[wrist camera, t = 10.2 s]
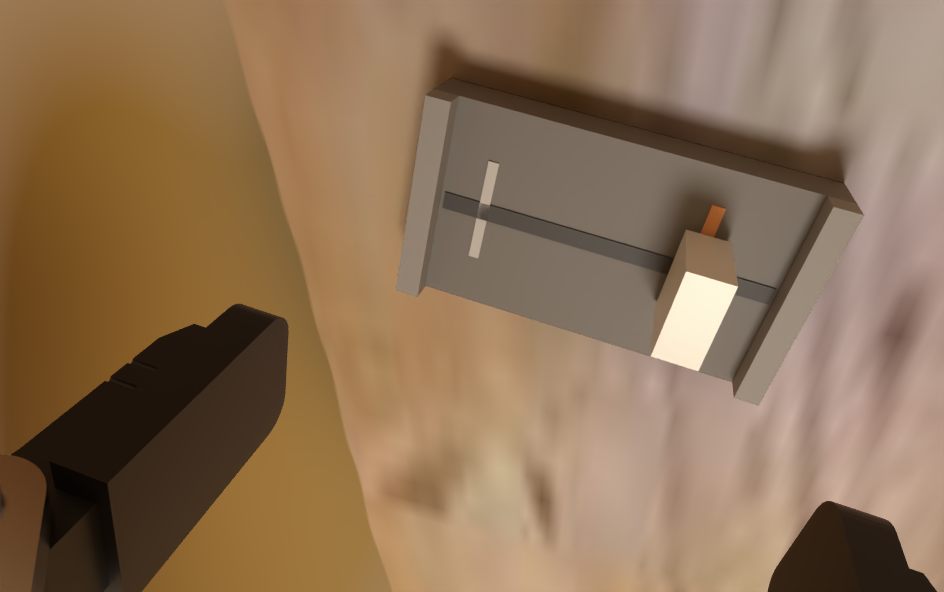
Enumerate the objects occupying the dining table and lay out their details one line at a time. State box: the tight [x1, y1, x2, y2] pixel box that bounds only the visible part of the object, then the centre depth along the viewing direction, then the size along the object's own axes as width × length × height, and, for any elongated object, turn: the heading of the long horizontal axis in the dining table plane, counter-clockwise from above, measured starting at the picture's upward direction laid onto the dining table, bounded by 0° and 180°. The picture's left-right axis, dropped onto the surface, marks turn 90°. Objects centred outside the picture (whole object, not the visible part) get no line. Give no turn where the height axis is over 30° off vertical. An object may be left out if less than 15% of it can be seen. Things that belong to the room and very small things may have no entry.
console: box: [396, 78, 864, 405], centre depth 38 cm, size 12×22×4 cm, turn 79°
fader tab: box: [651, 230, 738, 371], centre depth 34 cm, size 5×2×5 cm, turn 169°
